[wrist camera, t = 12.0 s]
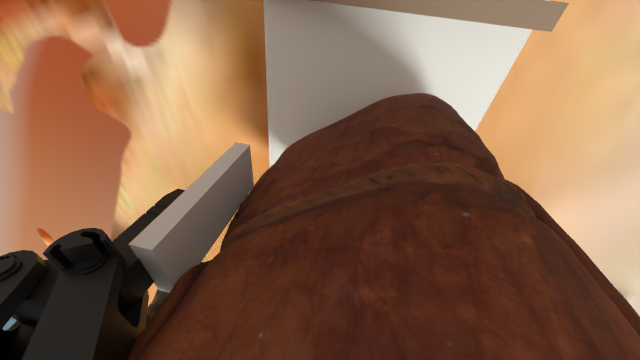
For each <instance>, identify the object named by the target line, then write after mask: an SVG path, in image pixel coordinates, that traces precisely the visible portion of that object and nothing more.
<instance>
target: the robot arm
mask: <svg viewBox="0 0 640 360" xmlns="http://www.w3.org/2000/svg"><path fill="white" fill-rule="evenodd" d="M253 186H254V184H253V174H252V163H251V153H250V145H246V144H241V143H235V144H234V145H233V146H232V147H231V148H230V149H229V150H228V151H226V152H225V153H224V154H223V155H222V156H221V157H220V158H219V159H218V160H217V161H216V162H215V163H214V164H213V165H212V166H211V167H210V168H209V169H207V170H206V171H205V172H204V173H203V174H202V175H201V176H200V177H199V178H198V179H197V180H196V181H195V182H194V183H193V184H192V185H191V186H189V187H188V188H187V189H186V190H181V189H177V190H175V191H173V192H171V193H169V194H167V195H165V196H164V197H163V198H162V199H160V200H159V201H158V202H157V203H156V204H155V206H152V207H151V208H150V209H149V210H148V211H147V213H146V214H143V215H142V216H141V217H140V218H139V219H138V220H136V221H135V222H134V223H133V224H132V225H131V226H130V227H128V228H127V229H126V230H125V231H124V232H123V233H122V234H120V235H119V236H118V237H117V238H116V239H115V240H114V241H111V240H110V239H109V237H108V236H107V234H106V233H105V232H104V231H103V230H101V229H97V228H87V229H81V230H78V231H74V232H71V233H69V234H67V235H65V236H63V237H61V238H59V239H58V240H56V241H55V242H54V243H52V244H51V245H49V247H48V248H47V249H46V250H45V251H44V253H43V255H45V256H46V257H47V258H48V259H49V260H43V259H42V258H41V257H39V256H38V255H37V254H36V253H34V252H33V251H27V250H21V251H16V252H11V253H8V254H5V255H3V256H0V360H127V359H128V357H129V354H130V352H131V349H132V346H133V344H134V343H135V341H136V340H137V338H138V337H139V335H140V334H141V332H142V331H143V330H144V328H145V327H146V325H147V324H148V323H149V321H150V320H151V319H152V317H153V316H154V314H155V313H156V312H157V310H158V309H159V307H160V306H161V304H162V303H163V301H164V300H165V298H166V297H167V295H168V294H169V293H170V291H171V290H172V288H173V287H174V285H175V284H176V282H177V281H178V279H179V278H180V277H181V276H182V275H183V274H185V273H186V272H187V271H188V270H189V269H191V268H192V267H194V266H196V265H199V264H202V263H201V261H202V260H203V258H204V257H205V256H206V254H207V253H208V251H209V250H210V248H211V247H212V245H213V244H214V242H215V241H216V240H217V238H218V237H219V235H220V234H221V232H222V231H223V229H224V228H225V227H226V225H227V224H228V222H229V221H230V219H231V218H232V216H233V215H234V214H235V212H236V211H237V209H238V208H239V206H240V205H241V203H242V202H243V200H244V199H245V198H246V196H247V195H248V193H249V192H250V190H251V189H252V187H253ZM153 282H154V283H155V285H156V286H157V288H158V289H157V292H156V294H155V297H154V299H153V301H152V302H151V304H150V305H149V306H148V299H149V295H148V291H147V290H148V288H149V287H150V286H151V285H152V284H153Z"/></svg>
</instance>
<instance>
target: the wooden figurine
mask: <svg viewBox="0 0 640 360" xmlns="http://www.w3.org/2000/svg"><path fill="white" fill-rule="evenodd" d="M127 360H640V317H639V315H638V314H637V313H636V311H635V310H634V309H633V308H632V306H631V305H630V304H629V303H628V301H627V300H626V299H625V298H624V297H623V296H622V295H621V294H620V293H619V291H618V290H617V289H616V288H615V287H614V286H613V285H612V284H611V283H610V281H609V280H608V279H607V278H606V277H605V276H604V274H603V273H602V272H601V271H600V270H599V269H598V267H597V266H596V265H595V264H594V263H593V262H592V260H591V259H590V258H589V257H588V256H587V254H586V253H585V252H584V251H583V250H582V249H581V248H580V247H579V245H578V244H577V243H576V242H575V241H574V240H573V239H572V238H571V237H570V236H569V235H568V234H567V233H566V232H565V231H564V230H563V229H562V228H561V227H560V226H559V225H558V224H557V223H556V222H555V221H554V219H553V218H552V217H551V216H550V215H549V214H548V213H547V212H546V211H545V210H544V208H543V207H542V206H541V205H540V204H539V203H538V202H537V201H535V200H534V199H533V198H532V197H531V196H530V195H528V194H527V193H526V192H525V191H524V190H522V189H521V188H520V187H519V186H518V185H515V184H513V183H512V182H510V181H508V180H505V179H504V177H503V175H502V173H501V171H500V169H499V166H498V163H497V161H496V159H495V157H494V156H493V154H492V153H491V152H490V151H489V150H488V149H487V147H486V146H485V145H484V144H483V142H482V141H481V139H480V137H479V136H478V134H477V133H476V132H475V131H474V130H473V129H472V128H471V127H470V126H469V125H468V124H467V123H466V122H465V121H464V119H463V118H462V117H460V115H459V114H458V113H457V111H456V110H455V109H454V108H453V107H452V106H451V105H449V104H448V103H447V102H445V101H444V100H442V99H440V98H439V97H437V96H434V95H431V94H427V93H414V94H404V95H396V96H392V97H388V98H385V99H382V100H379V101H377V102H375V103H373V104H371V105H369V106H367V107H365V108H363V109H361V110H359V111H357V112H355V113H353V114H351V115H349V116H347V117H345V118H343V119H341V120H339V121H337V122H335V123H333V124H331V125H329V126H327V127H324V128H322V129H320V130H317V131H315V132H313V133H311V134H309V135H307V136H305V137H303V138H301V139H300V140H298V141H296V142H295V143H293V144H291V145H290V146H289V147H288V148H286V149H285V150H284V152H283V153H282V154H281V155H280V157H279V158H278V160H277V161H276V162H275V164H273V165H272V166H271V167H270V169H268V170H267V171H266V172H265V173H264V174H263V175H262V176H261V177H260V179H259V180H258V181H257V183H256V184H255V185H254V187H253V188H252V190H251V191H250V193H249V194H248V196H247V197H246V198H245V200H244V201H243V202H242V203H241V205H240V207H239V209H238V211H237V213H236V214H235V216H234V218H233V220H232V221H231V223H230V225H229V228H228V230H227V233H226V235H225V237H224V239H223V242H222V245H221V249H220V253H218V254H217V255H216V256H215V257H214V258H213V259H212V260H210V261H207V262H204V263H202V264H199V265H196V266H194V267H192V268H191V269H189V270H188V271H187V272H186V273H185V274H183V275H182V276H181V277H180V278H179V279H178V281H177V282H176V284H175V285H174V287H173V288H172V290H171V291H170V293H169V294H168V295H167V297H166V298H165V300H164V301H163V303H162V304H161V306H160V307H159V309H158V310H157V312H156V313H155V314H154V316H153V317H152V319H151V320H150V321H149V323H148V324H147V325H146V327H145V328H144V330H143V331H142V332H141V334H140V335H139V337H138V338H137V340H136V341H135V343H134V344H133V346H132V349H131V352H130V354H129V357H128V359H127Z"/></svg>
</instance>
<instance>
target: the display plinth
mask: <svg viewBox="0 0 640 360" xmlns="http://www.w3.org/2000/svg"><path fill="white" fill-rule="evenodd" d="M263 2H264V28H265V55H266V82H267V108H268V135H269V162H270V167H271V166H272V165H273V164H275V162H276V161H277V160H278V158H279V157H280V155H281V154H282V153H283V152H284V150H285V149H286V148H288V147H289V146H290V145H291V144H293V143H295V142H296V141H298V140H300V139H301V138H303V137H305V136H307V135H309V134H311V133H313V132H315V131H317V130H320V129H322V128H324V127H327V126H329V125H331V124H333V123H335V122H337V121H339V120H341V119H343V118H345V117H347V116H349V115H351V114H353V113H355V112H357V111H359V110H361V109H363V108H365V107H367V106H369V105H371V104H373V103H375V102H377V101H379V100H382V99H385V98H388V97H392V96H396V95H404V94H414V93H427V94H431V95H434V96H437V97H439V98H440V99H442V100H444V101H445V102H447V103H448V104H449V105H451V106H452V107H453V108H454V109H455V110H456V111H457V113H458V114H459V115H460V117H462V118H463V119H464V121H465V122H466V123H467V124H468V125H469V126H470V127H471V128H472V129H473V130H474V131H475V130H476V128H477V127H478V125H479V123H480V121H481V120H482V118H483V116H484V114H485V112H486V111H487V109H488V107H489V105H490V104H491V102H492V100H493V98H494V97H495V95H496V93H497V91H498V90H499V88H500V86H501V84H502V83H503V81H504V79H505V77H506V76H507V74H508V72H509V70H510V68H511V67H512V65H513V63H514V61H515V60H516V58H517V56H518V54H519V53H520V51H521V49H522V47H523V46H524V44H525V42H526V40H527V39H528V37H529V35H530V33H531V32H532V30H541V31H550V32H552V30H553V28H554V27H555V25H556V23H557V22H558V20H559V18H560V17H561V15H562V14H563V12H564V10H565V9H566V7H567V5H568V4H569V3H564V2H555V1H549V0H263Z"/></svg>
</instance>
